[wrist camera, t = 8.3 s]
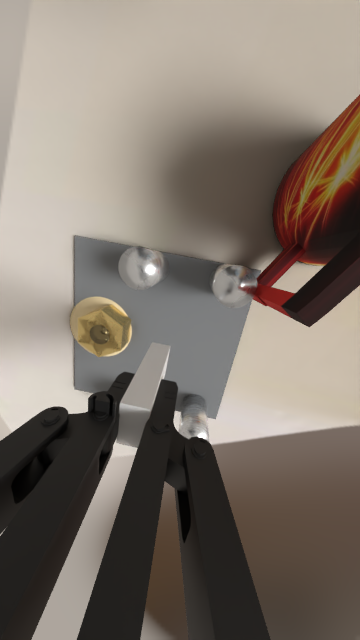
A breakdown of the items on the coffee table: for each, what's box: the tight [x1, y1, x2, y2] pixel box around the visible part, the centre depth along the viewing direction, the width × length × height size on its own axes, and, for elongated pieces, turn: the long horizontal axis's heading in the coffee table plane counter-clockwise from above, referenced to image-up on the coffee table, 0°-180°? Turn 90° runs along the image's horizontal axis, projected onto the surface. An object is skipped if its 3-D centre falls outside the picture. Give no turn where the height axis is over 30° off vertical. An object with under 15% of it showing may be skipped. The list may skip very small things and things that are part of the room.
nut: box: [78, 304, 131, 357], centre depth 19 cm, size 5×4×2 cm
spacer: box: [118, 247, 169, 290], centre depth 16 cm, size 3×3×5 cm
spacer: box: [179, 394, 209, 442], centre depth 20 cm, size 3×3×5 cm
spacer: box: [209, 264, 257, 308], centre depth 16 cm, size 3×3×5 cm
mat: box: [70, 236, 261, 419], centre depth 21 cm, size 18×18×1 cm
